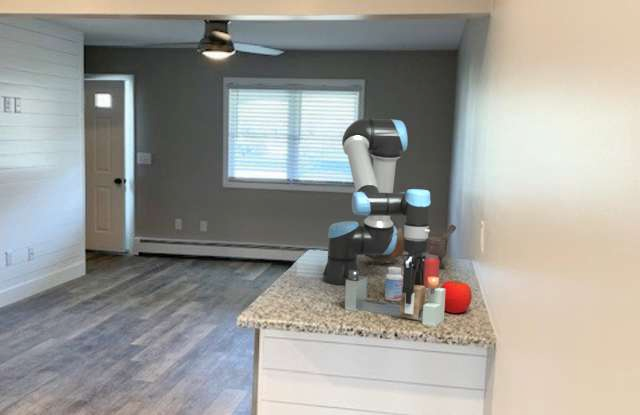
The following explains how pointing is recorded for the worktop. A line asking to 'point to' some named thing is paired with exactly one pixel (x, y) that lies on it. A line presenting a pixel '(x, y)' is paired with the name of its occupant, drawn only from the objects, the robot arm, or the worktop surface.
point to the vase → (397, 250)
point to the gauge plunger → (433, 283)
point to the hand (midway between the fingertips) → (412, 310)
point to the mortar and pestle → (440, 245)
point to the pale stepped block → (434, 308)
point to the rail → (357, 300)
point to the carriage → (418, 302)
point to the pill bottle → (393, 284)
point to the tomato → (456, 296)
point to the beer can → (431, 267)
